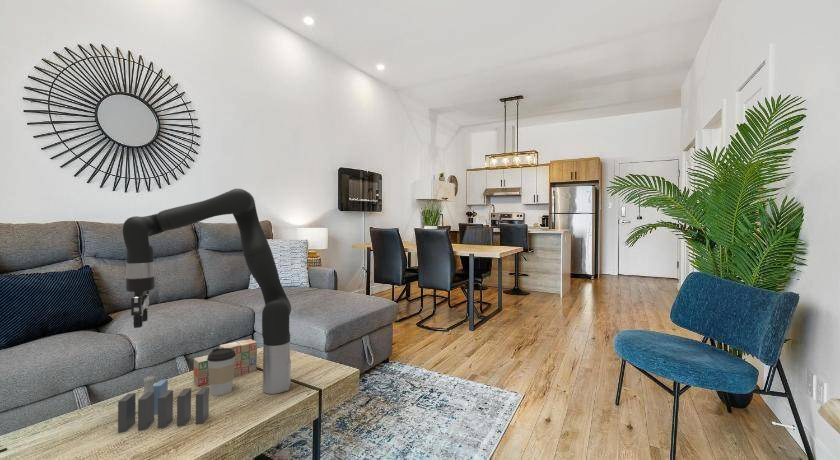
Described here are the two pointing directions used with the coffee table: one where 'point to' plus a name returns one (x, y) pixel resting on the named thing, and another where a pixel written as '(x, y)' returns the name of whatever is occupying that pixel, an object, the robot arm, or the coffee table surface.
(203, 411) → the domino
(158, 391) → the tile
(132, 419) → the domino
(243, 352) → the stack of blocks
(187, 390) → the domino
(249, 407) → the coffee table surface
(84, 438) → the coffee table surface
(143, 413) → the domino
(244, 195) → the robot arm
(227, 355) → the coffee cup
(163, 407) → the domino
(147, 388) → the rook chess piece
